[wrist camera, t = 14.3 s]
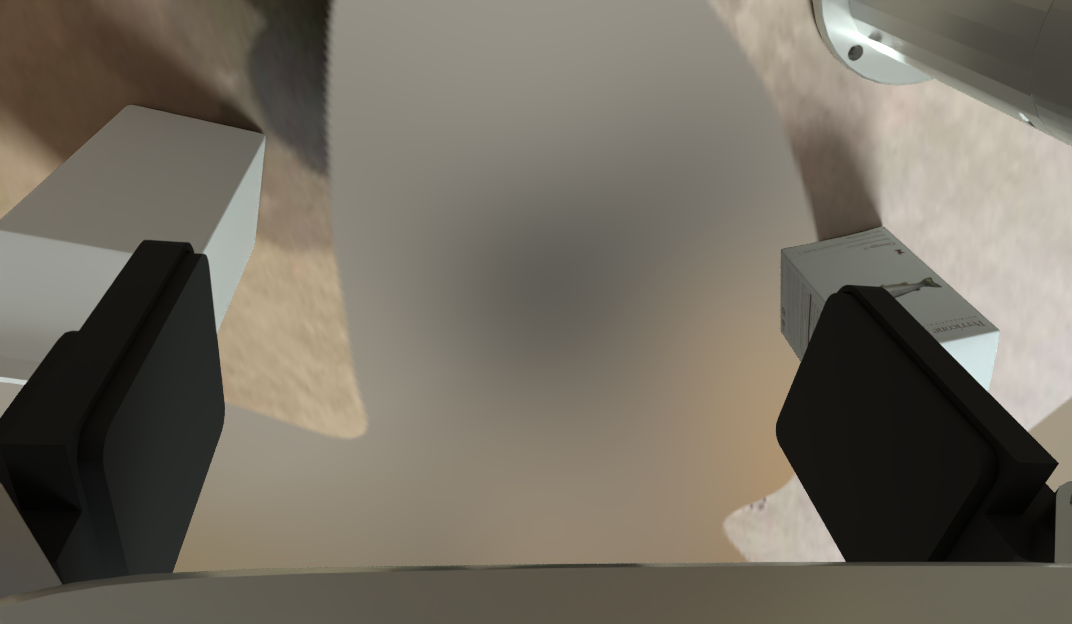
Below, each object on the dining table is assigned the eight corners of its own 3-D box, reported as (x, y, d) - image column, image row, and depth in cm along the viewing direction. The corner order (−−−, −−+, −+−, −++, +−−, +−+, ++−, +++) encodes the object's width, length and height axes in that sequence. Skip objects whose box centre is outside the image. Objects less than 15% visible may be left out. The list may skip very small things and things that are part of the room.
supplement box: (885, 221, 49) (1008, 328, 39) (875, 312, 53) (985, 430, 43) (777, 245, 49) (871, 357, 39) (776, 333, 53) (861, 457, 43)
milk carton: (128, 102, 39) (-75, 284, 24) (267, 133, 41) (165, 321, 25) (128, 219, 43) (-49, 446, 27) (256, 243, 45) (160, 469, 29)
